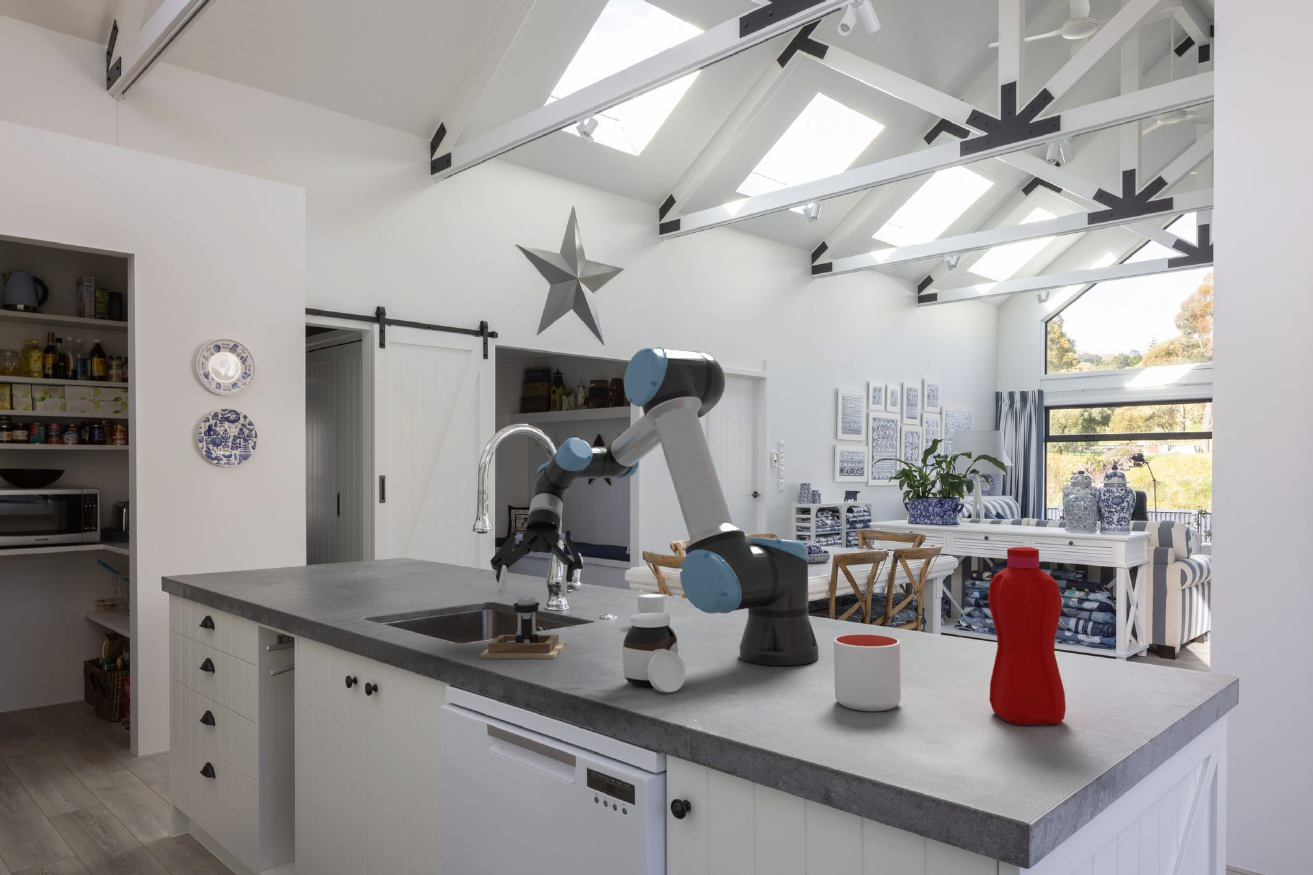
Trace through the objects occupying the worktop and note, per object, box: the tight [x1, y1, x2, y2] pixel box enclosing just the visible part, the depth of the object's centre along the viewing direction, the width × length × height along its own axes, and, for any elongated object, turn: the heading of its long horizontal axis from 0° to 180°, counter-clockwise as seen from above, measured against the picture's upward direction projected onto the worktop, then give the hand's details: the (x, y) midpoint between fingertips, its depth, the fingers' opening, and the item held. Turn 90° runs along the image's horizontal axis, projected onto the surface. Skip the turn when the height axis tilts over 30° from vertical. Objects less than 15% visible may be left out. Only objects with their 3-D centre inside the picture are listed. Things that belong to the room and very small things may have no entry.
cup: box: [833, 633, 902, 712], centre depth 137 cm, size 10×10×10 cm
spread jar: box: [622, 613, 687, 694], centre depth 150 cm, size 12×11×12 cm
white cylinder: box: [636, 592, 667, 614], centre depth 206 cm, size 7×7×7 cm
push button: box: [507, 597, 541, 643], centre depth 179 cm, size 7×5×10 cm
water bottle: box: [987, 546, 1067, 726], centre depth 130 cm, size 9×11×25 cm
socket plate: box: [478, 634, 567, 659], centre depth 179 cm, size 13×15×2 cm
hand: (531, 593), depth 187 cm, fingers open, 13 cm apart
